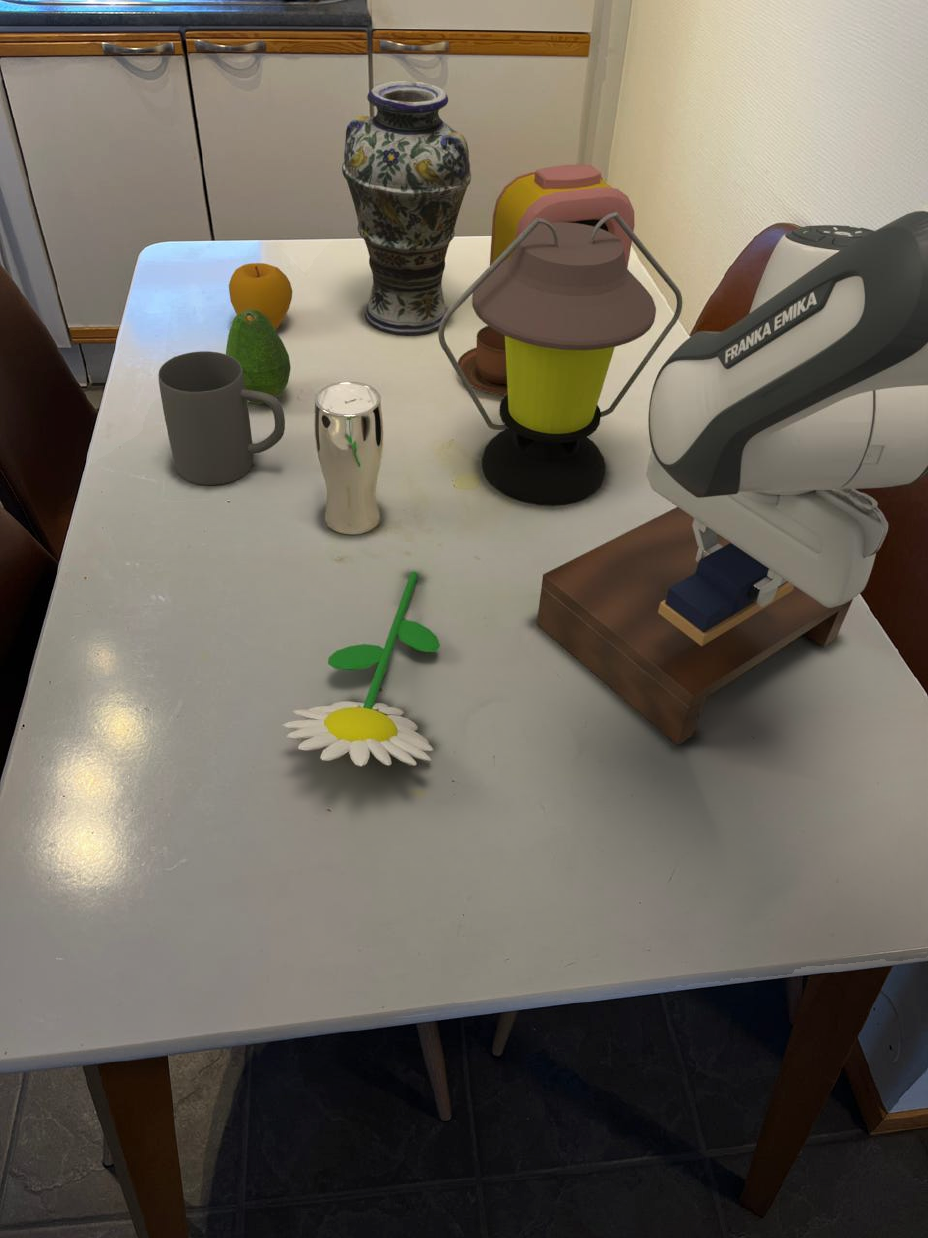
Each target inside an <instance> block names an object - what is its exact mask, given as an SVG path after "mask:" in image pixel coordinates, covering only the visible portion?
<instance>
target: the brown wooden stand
mask: <svg viewBox="0 0 928 1238" xmlns="http://www.w3.org/2000/svg"><path fill="white" fill-rule="evenodd" d="M693 521H694V518H693V517H692V516H691V515H689V514H688V513H686V512H685V511H683V510H682V509H680V508H679V507H677V506H676V507H674V508H672V509H670V510H668V511H666V512H664V513H662V514H660V515H658V516H656V517H654V518H653V519H650V520H648V521H646V522H645V523H642V524H640V525H639V526H636V527H634V528H633V529H630V530H628V531H627V532H624V533H623V534H620V535H619V536H617V537H615V538H612V539H611V540H609V541H607V542H604V543H603V544H601V545H598V546H596V547H595V548H592V549H591V550H589V551H586V552H585V553H583V554H581V555H579V556H577V557H575V558H572V559H571V560H569V561H566V562H565V563H562V564H561V565H559V566H557V567H555V568H553V569H551V570H549V571H547V572H545V573H543V574H542V580H541V589H540V595H539V596H540V597H539V602H538V610H537V618H536V625H537V626H538V627H540V628H541V629H542V630H543V631H544V632H546V634H548V635H549V636H550V637H551V638H552V639H554V641H556V642H557V644H559V645H560V646H562V647H563V648H564V649H565V650H566V651H567V652H568V653H570V654H571V655H572V656H573V657H574V658H576V659H577V660H578V661H579V662H580V663H581V664H583V665H584V666H585V667H586V668H587V669H588V670H589V671H591V672H592V673H593V674H594V675H595V676H597V678H599V679H600V680H601V681H602V682H604V684H606V685H607V687H609V688H610V689H612V691H614V692H615V693H616V694H617V695H619V697H621V698H622V699H623V700H624V701H625V702H626V703H628V704H629V705H630V706H631V707H632V708H633V709H635V710H636V711H637V712H638V713H639V714H641V715H642V716H643V717H644V718H645V719H646V720H648V721H649V723H651V724H652V725H654V727H656V728H657V729H658V730H659V731H660V732H661V733H663V735H665V736H666V737H667V738H669V740H671V741H672V742H673V743H674V744H675V745H677V746H680V745H681V744H682V743H684V742H686V741H687V740H688V739H690V738H691V737H693V736H694V733H695V729H696V727H697V724H698V722H699V718H700V715H701V712H702V708H703V706H704V702H705V700H706V698H708V697H709V696H711V695H712V694H715V692H717V691H719V690H720V689H721V688H723V687H725V686H726V685H728V684H729V683H730V682H732V681H733V680H735V679H736V678H738V677H740V676H741V675H743V674H744V673H746V672H747V671H749V670H750V669H752V668H753V667H755V666H756V665H758V664H760V663H761V662H763V661H764V660H766V659H767V658H769V657H770V656H772V655H774V654H775V653H777V652H778V651H780V650H781V649H783V648H784V647H786V646H787V645H788V644H790V643H791V642H794V641H795V640H797V638H799V637H801V636H803V635H805V636H807V637H808V638H809V639H810V640H812V641H813V642H815V643H816V644H818V645H819V646H821V647H822V648H825V647H827V646H828V645H830V644H831V643H832V642H834V641H835V640H836V639H837V637H838V635H839V632H840V630H841V628H842V625H843V623H844V621H845V619H846V616H847V614H848V611H849V609H850V607H851V605H852V603H853V601H854V598H853V599H852V600H850V601H849V602H847V603H845V604H843V605H840V606H836V607H832V608H828V607H825V606H823V605H822V604H820V603H819V602H817V601H816V600H815V599H813V598H812V597H810V596H809V595H807V594H806V593H804V592H803V591H801V590H800V589H798V588H797V587H795V586H794V588H793V591H791V592H789V593H788V594H786V595H785V596H783V597H781V598H780V599H778V600H776V601H775V602H773V603H772V604H770V605H768V606H767V607H765V608H763V609H762V610H760V611H759V612H757V613H755V614H754V615H752V616H750V617H749V618H747V619H745V620H744V621H742V622H741V623H739V624H737V625H736V626H734V627H732V628H731V629H729V630H728V631H726V632H724V633H723V634H721V635H719V636H718V637H716V638H714V639H713V640H711V641H710V642H708V643H706V644H705V645H703V646H700V645H699V644H698V643H697V642H695V641H694V640H693V639H691V638H690V637H689V636H688V635H686V634H685V633H684V632H682V631H681V630H680V629H678V628H677V627H676V626H675V625H673V624H672V623H671V622H669V621H668V620H667V619H665V618H664V617H663V616H662V615H660V614H659V613H658V610H659V606H660V603H661V602H662V601H664V600H666V597H667V593H668V589H669V587H671V586H673V585H675V584H677V583H678V582H680V581H682V580H684V579H686V578H687V577H689V576H691V575H693V574H695V573H696V569H697V566H698V562H697V561H696V556H697V552H698V548H699V546H698V545H697V541H696V537H695V534H694V530H693V526H692V524H693ZM717 536H718V543H719V544H720V545H721V546H723V547H724V546H726V545H727V544H729V543H730V542H729V541H727V540H726V539H725V538H723V537H722V536H720V535H719V534H717Z"/></svg>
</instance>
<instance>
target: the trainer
mask: <svg viewBox="0 0 928 1238" xmlns="http://www.w3.org/2000/svg"><path fill="white" fill-rule="evenodd" d="M768 571H769V568H767V567H766V566H764V565H763V564H761V563H760V562H758V561H757V560H756V559H754V558H753V557H751V556H750V555H748V554H747V553H745V552H744V551H742V550H741V549H739V548H738V547H736V546H735V545H733V544H732V543H729V544H727V545H726V546H724V547H722V548H720V549H718V550H717V551H715V552H713V553H711V554H709V555H707V556H706V557H704V558H702V559H700V560H699V562H698V566H697V569H696V573H695V574H693V575H691V576H689V577H687V578H686V579H684V580H682V581H680V582H678V583H677V584H675V585H673V586H671V587H669V589H668V593H667V597H666V600H664V601H662V602H661V603H660V606H659V610H658V613H659V614H660V615H662V616H663V617H664V618H665V619H667V620H668V621H669V622H671V623H672V624H673V625H675V626H676V627H677V628H678V629H680V630H681V631H682V632H684V633H685V634H686V635H688V636H689V637H690V638H691V639H693V640H694V641H695V642H697V643H698V644H699V645H700V646H703V645H705V644H706V643H708V642H710V641H711V640H713V639H714V638H716V637H718V636H719V635H721V634H723V633H724V632H726V631H728V630H729V629H731V628H732V627H734V626H736V625H737V624H739V623H741V622H742V621H744V620H745V619H747V618H749V617H750V616H752V615H754V614H755V613H757V612H759V611H760V610H762V609H763V608H765V607H767V606H768V605H770V604H772V603H773V602H775V601H776V600H778V599H780V598H781V597H783V596H785V595H786V594H788V593H789V592H791V591H793V588H794V585H792V584H791V583H790V582H788V581H787V582H785V583H784V584H782V585H780V586H779V587H778V589H777V591H776V594H775V597H774V599H773V600H772V601H771V602H770V603H768V604H767V605H765V606H764V607H760V606H759V605H757V604H756V603H754V602H753V601H752V600H750V599H749V598H748V594H749V593H750V588H751V585H752V583H754V582H756V581H759V580H760V579H761V578H763V577H764V576H767V574H768ZM767 577H768V576H767ZM768 578H769V577H768ZM770 579H771V578H770ZM771 580H773V579H771Z"/></svg>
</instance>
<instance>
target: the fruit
mask: <svg viewBox="0 0 928 1238" xmlns="http://www.w3.org/2000/svg"><path fill="white" fill-rule="evenodd" d="M225 350H226V351H225V354H226V355H229V356H231V357H233V358H234V359H236V360H237V361H238V362H239V363H240V365H241V367H242V370H243V375H244V381H245V387H246V390H252V391H258V392H263V393H266V394H269V395H272V396H274V397H275V398H276V399H278V397H280V396H281V395H282V394H283V392H284V391H285V389H286V387H287V385H288V383H289V379H290V374H291V369H292V368H291V361H290V355H289V353H288V351H287V348H286V346H285V344H284V341H283V340H282V339H281V337H280V336H279V334H278V332H277V329H274V327H273V326H272V324H271V322H270V321H269V319H268V318H267V317H266V316H264V315H263V314H262V313H261V312H259V311H257V310H246V311H244V312H241V313H239V314H235V316H234V318H233V319H232V322H231V325H230V327H229V332H228V336H227V342H226V348H225ZM247 402H248V403H250V404H251V403H252V404H255V405H258V404H265V403H264V402H260V401H254V400H247Z"/></svg>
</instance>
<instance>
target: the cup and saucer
mask: <svg viewBox="0 0 928 1238" xmlns="http://www.w3.org/2000/svg"><path fill="white" fill-rule="evenodd" d="M457 363H458V364H459V366H460V368H461V370H462V371H463V373H464V375H465V376H466V378H467V380H468V382H469V383H470V385H471V387H472V388H475V389H478V390H479V391H482V392H486V393H491V394H494V395H495V394H497V395H506V394H508V389H507V368H506V348H505V335H503V334H501V333H499V332H497V331H495V330H494V329H492V328H491V327H489V326H488V325H486V326H484V327H482V328H481V329H479V330H478V332H477V333H476V347H473V348H471V349H469V350H467V351H466V352H464V353H463V354H462V355H460V357H459V358H458V361H457Z"/></svg>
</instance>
